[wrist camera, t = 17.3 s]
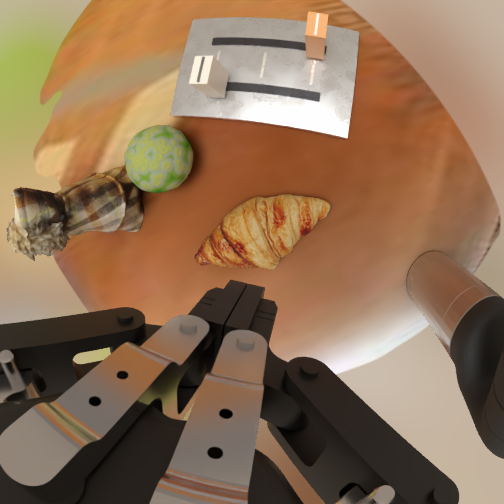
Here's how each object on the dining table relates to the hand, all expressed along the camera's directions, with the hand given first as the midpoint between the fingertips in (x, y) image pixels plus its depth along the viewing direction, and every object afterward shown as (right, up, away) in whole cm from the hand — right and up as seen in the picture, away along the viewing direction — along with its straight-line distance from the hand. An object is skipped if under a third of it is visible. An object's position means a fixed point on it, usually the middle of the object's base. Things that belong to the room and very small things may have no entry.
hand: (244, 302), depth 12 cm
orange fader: (+9, +31, +18) cm, 37 cm away
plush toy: (-22, +11, +32) cm, 41 cm away
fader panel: (+2, +29, +22) cm, 36 cm away
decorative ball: (-12, +17, +29) cm, 35 cm away
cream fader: (-4, +26, +22) cm, 34 cm away
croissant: (+2, +5, +29) cm, 30 cm away
